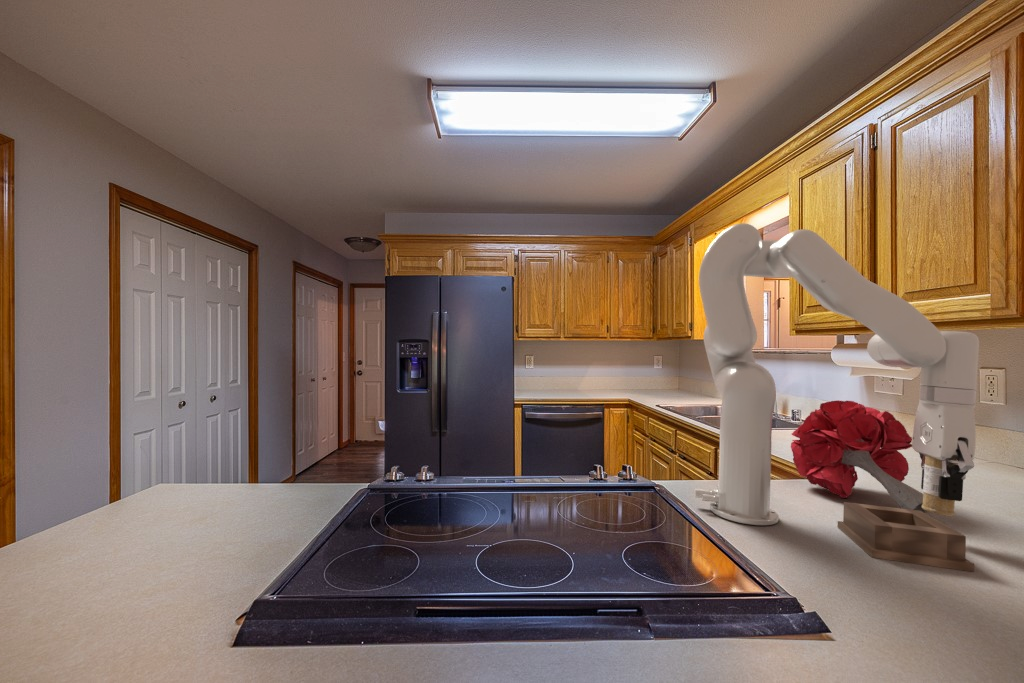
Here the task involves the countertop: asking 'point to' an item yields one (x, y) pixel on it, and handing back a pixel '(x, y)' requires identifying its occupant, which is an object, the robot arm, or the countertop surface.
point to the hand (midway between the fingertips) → (940, 494)
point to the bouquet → (854, 450)
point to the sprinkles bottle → (935, 488)
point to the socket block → (904, 536)
